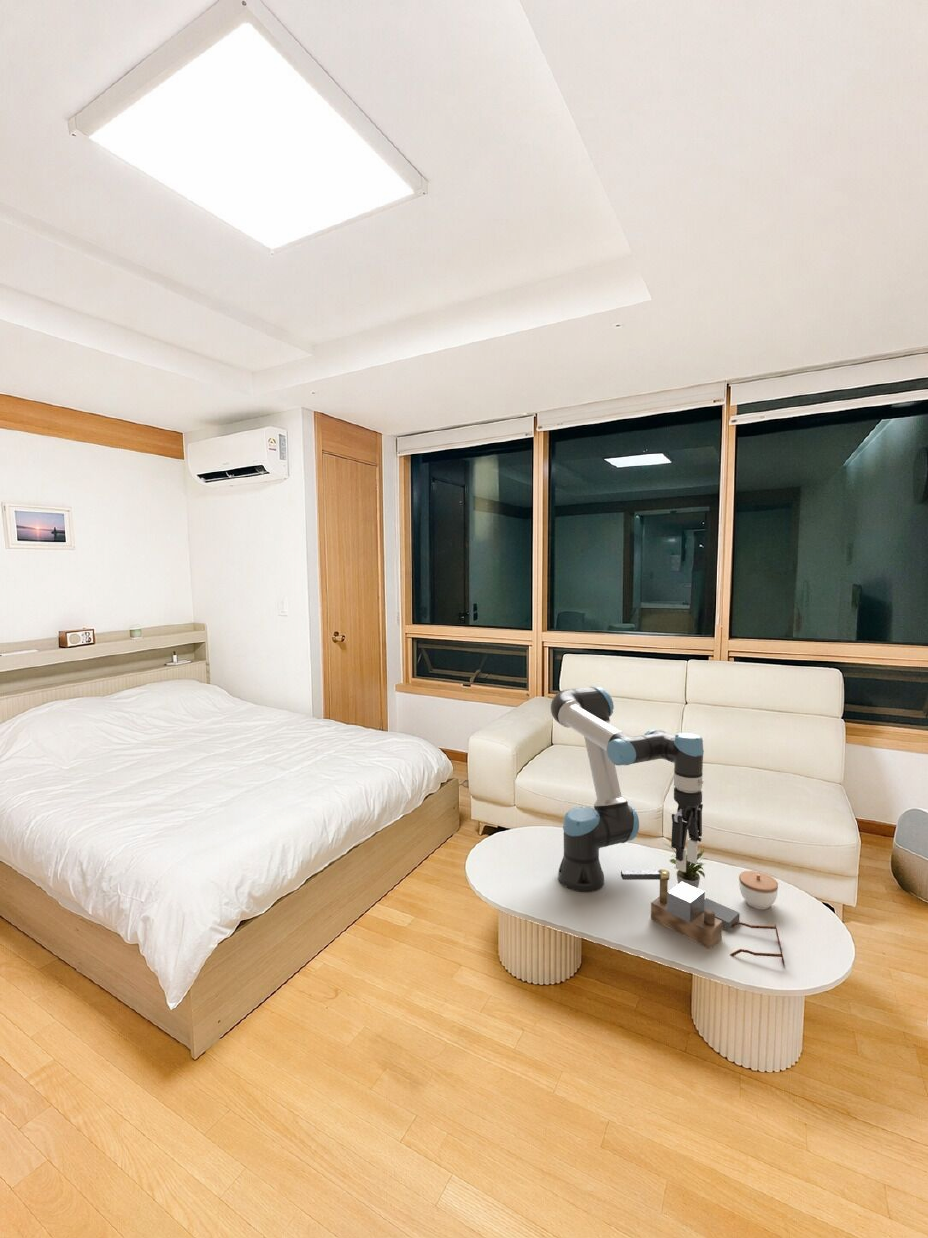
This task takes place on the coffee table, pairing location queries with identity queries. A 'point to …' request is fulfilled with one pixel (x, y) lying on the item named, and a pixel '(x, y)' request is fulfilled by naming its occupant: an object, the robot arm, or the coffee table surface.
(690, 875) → the house plant
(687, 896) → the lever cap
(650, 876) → the lever
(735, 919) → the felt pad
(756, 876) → the lidded jar
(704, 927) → the body
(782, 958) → the glasses
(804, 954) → the coffee table surface
